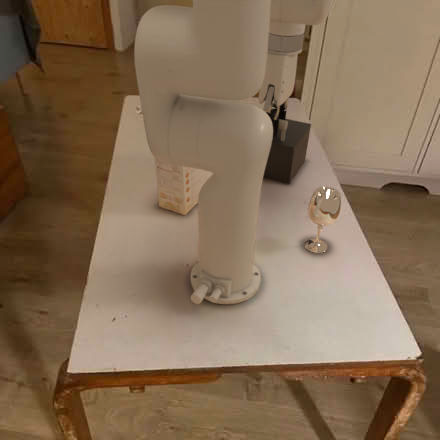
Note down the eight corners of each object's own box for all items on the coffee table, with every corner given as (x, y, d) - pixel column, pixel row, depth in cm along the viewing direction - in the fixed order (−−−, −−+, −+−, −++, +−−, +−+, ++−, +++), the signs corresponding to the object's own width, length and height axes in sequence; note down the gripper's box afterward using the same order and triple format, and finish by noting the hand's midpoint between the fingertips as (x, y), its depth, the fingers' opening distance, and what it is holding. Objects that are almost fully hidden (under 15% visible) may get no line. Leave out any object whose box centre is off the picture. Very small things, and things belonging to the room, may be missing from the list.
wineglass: (330, 257, 86) (343, 204, 77) (300, 252, 86) (310, 200, 78) (331, 239, 90) (343, 187, 81) (302, 235, 91) (312, 183, 82)
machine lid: (293, 150, 98) (296, 127, 94) (244, 139, 101) (246, 116, 98) (310, 127, 107) (314, 104, 103) (265, 117, 110) (267, 95, 106)
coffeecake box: (192, 176, 106) (190, 92, 93) (218, 184, 104) (220, 99, 90) (157, 206, 97) (149, 118, 83) (185, 216, 94) (181, 127, 81)
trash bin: (289, 184, 105) (294, 149, 98) (243, 172, 108) (245, 138, 102) (305, 160, 113) (310, 127, 107) (262, 150, 116) (265, 117, 110)
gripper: (279, 28, 94) (270, 114, 107) (250, 50, 83) (244, 143, 96) (314, 33, 92) (300, 121, 104) (288, 56, 81) (277, 150, 93)
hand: (273, 130), depth 100 cm, fingers open, 4 cm apart
